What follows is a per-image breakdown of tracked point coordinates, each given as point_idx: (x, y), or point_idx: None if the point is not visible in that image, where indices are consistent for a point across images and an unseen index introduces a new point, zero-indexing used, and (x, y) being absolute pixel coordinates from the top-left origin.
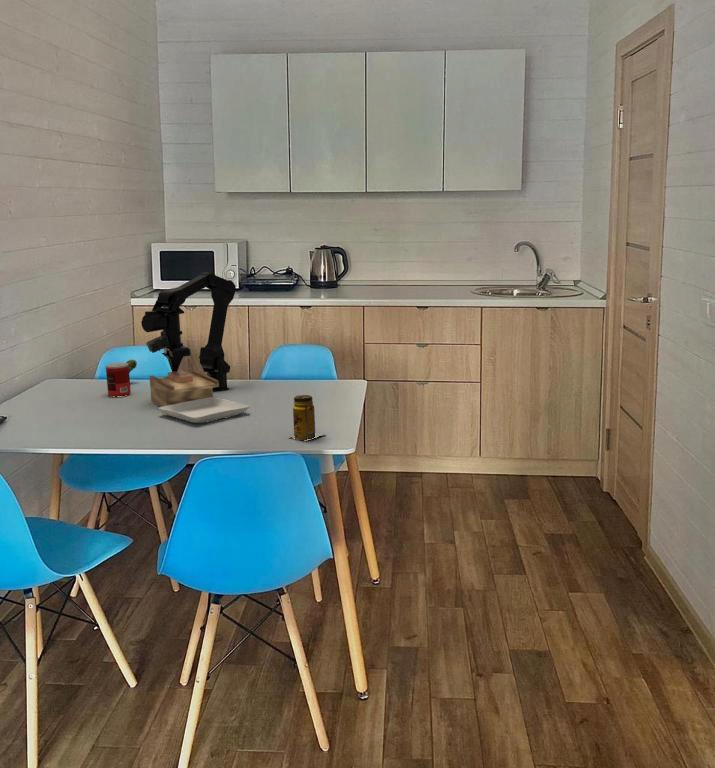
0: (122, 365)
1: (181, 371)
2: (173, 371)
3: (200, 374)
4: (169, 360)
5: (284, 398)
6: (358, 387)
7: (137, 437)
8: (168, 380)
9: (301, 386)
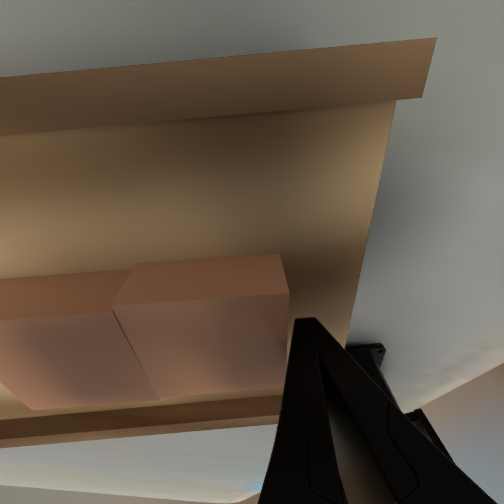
0: None
1: (248, 381)
2: (291, 339)
3: (185, 421)
4: (384, 478)
5: (131, 438)
6: (179, 499)
7: None
8: (162, 233)
9: (240, 464)
